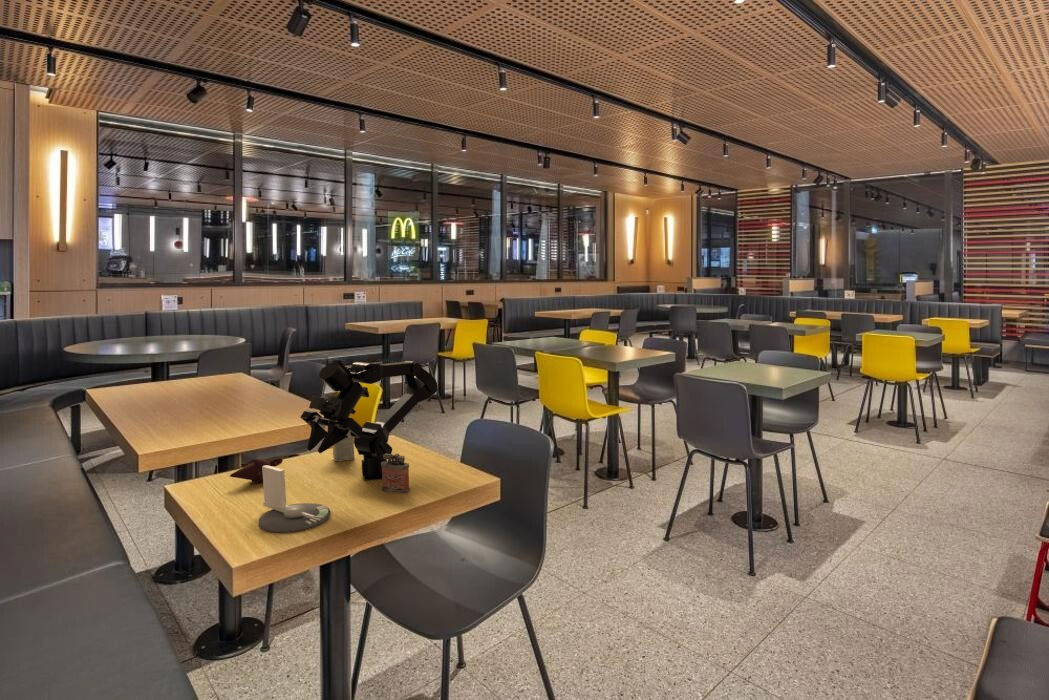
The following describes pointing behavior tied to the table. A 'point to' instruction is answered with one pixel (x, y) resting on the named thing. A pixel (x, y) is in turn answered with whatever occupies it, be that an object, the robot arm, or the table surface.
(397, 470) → the lighter
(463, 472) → the table surface
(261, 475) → the maroon gnome figurine
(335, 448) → the skincare box
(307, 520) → the tuner dial
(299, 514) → the rotary selector knob
